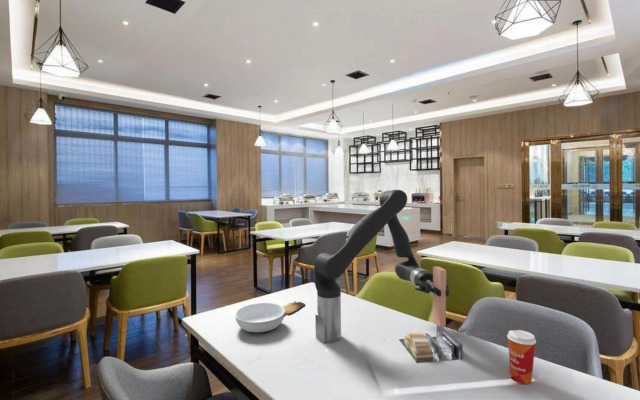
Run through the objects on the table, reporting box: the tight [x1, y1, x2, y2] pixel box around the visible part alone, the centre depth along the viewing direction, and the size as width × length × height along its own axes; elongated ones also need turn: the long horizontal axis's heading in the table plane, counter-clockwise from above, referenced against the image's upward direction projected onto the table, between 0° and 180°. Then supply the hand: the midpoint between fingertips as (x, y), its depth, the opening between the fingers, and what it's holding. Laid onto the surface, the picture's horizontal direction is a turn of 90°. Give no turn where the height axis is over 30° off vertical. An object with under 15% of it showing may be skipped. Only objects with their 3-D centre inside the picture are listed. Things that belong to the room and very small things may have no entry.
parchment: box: [282, 300, 306, 317], centre depth 160 cm, size 25×10×1 cm, turn 146°
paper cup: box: [506, 329, 537, 385], centre depth 101 cm, size 8×8×14 cm
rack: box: [398, 324, 464, 364], centre depth 119 cm, size 17×16×6 cm
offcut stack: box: [403, 331, 433, 358], centre depth 118 cm, size 11×6×5 cm, turn 7°
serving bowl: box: [234, 302, 285, 333], centre depth 141 cm, size 21×21×7 cm
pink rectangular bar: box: [431, 265, 447, 328], centre depth 118 cm, size 6×2×20 cm, turn 7°
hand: (443, 293), depth 115 cm, fingers closed on pink rectangular bar, 2 cm apart
